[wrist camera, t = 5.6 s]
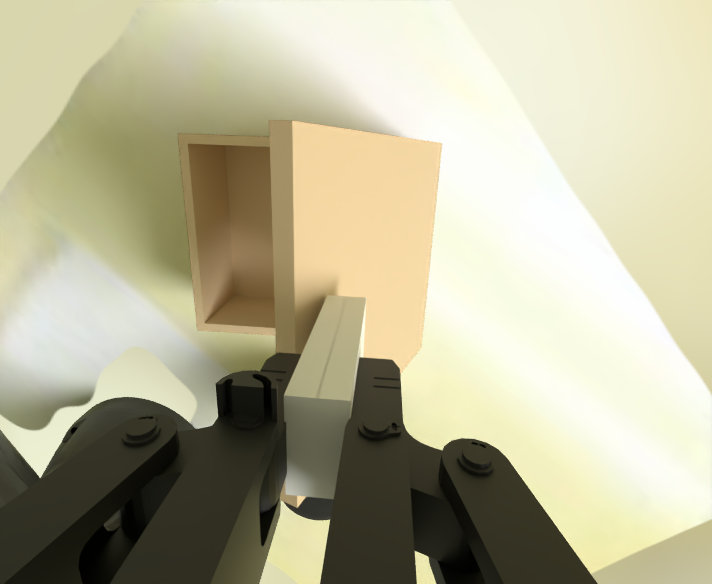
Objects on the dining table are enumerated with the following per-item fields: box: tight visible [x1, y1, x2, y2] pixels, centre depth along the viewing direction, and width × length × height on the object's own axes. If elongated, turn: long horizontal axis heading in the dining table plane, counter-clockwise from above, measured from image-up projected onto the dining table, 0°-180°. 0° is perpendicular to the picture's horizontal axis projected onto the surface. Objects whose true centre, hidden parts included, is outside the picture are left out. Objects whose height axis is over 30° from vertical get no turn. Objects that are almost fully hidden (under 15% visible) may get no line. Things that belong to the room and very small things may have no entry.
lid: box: [269, 120, 442, 508], centre depth 20 cm, size 16×14×1 cm
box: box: [178, 133, 276, 335], centre depth 31 cm, size 16×14×7 cm
